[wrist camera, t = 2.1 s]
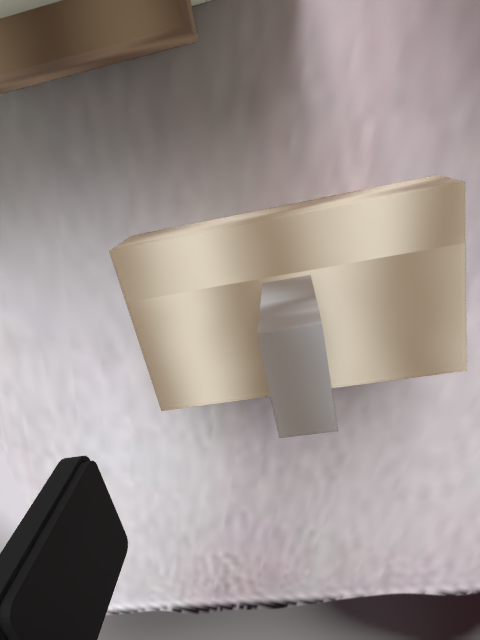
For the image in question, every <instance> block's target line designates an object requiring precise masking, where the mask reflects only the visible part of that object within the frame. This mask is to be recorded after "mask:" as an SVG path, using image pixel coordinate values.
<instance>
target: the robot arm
mask: <svg viewBox="0 0 480 640" xmlns="http://www.w3.org/2000/svg"><path fill="white" fill-rule="evenodd" d="M127 548H128V540H127V536H126V533H125V531H124V529H123V526H122V524H121V521H120V519H119V517H118V514H117V512H116V509H115V507H114V505H113V502H112V500H111V497H110V495H109V493H108V490H107V488H106V485H105V483H104V481H103V478H102V476H101V473H100V471H99V469H98V466H97V464H96V462H94V461H90V459H89V458H88V457H87V456H79V457H71V458H64V459H62V460H61V461H60V462H59V463H58V465H57V466H56V468H55V470H54V471H53V473H52V474H51V476H50V477H49V479H48V480H47V482H46V484H45V485H44V487H43V488H42V490H41V491H40V493H39V494H38V496H37V498H36V499H35V501H34V502H33V504H32V505H31V507H30V508H29V510H28V512H27V513H26V515H25V516H24V518H23V519H22V521H21V522H20V524H19V526H18V527H17V529H16V530H15V532H14V533H13V535H12V537H11V538H10V540H9V541H8V543H7V544H6V546H5V547H4V549H3V551H2V552H1V554H0V640H97V638H98V636H99V633H100V630H101V627H102V624H103V621H104V618H105V615H106V612H107V609H108V606H109V603H110V600H111V597H112V594H113V592H114V589H115V586H116V583H117V580H118V577H119V574H120V571H121V568H122V565H123V562H124V559H125V556H126V553H127Z"/></svg>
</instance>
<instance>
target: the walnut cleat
mask: <svg viewBox="0 0 480 640" xmlns="http://www.w3.org/2000/svg"><path fill="white" fill-rule="evenodd" d="M197 41H199V39H198V34H197V29H196V24H195V20H194V15H193V10H192V5H191V0H61V1H58V2H55V3H51V4H48V5H45V6H41V7H38V8H34V9H31V10H28V11H24V12H21V13H17V14H14V15H11V16H7V17H4V18H1V19H0V94H1V93H5V92H9V91H13V90H16V89H20V88H24V87H28V86H31V85H35V84H39V83H43V82H47V81H50V80H54V79H58V78H62V77H65V76H69V75H73V74H77V73H80V72H84V71H88V70H92V69H95V68H99V67H103V66H107V65H110V64H114V63H118V62H122V61H126V60H129V59H133V58H137V57H141V56H144V55H148V54H152V53H156V52H159V51H163V50H167V49H171V48H174V47H178V46H182V45H186V44H189V43H193V42H197Z"/></svg>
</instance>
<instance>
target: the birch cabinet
mask: <svg viewBox="0 0 480 640" xmlns="http://www.w3.org/2000/svg"><path fill="white" fill-rule="evenodd" d="M109 252H110V255H111V258H112V261H113V264H114V267H115V270H116V273H117V277H118V280H119V283H120V286H121V289H122V292H123V295H124V298H125V301H126V304H127V307H128V310H129V313H130V316H131V319H132V322H133V325H134V328H135V331H136V335H137V338H138V341H139V344H140V347H141V350H142V353H143V356H144V359H145V362H146V365H147V368H148V371H149V374H150V377H151V380H152V383H153V386H154V389H155V393H156V396H157V399H158V402H159V405H160V408H161V411H165V410H172V409H180V408H187V407H195V406H202V405H210V404H218V403H225V402H233V401H240V400H248V399H255V398H263V397H270V396H271V401H272V406H273V410H274V415H275V420H276V425H277V429H278V434H279V438H283V437H292V436H300V435H309V434H317V433H326V432H334V431H338V427H337V420H336V414H335V407H334V400H333V393H332V388H338V387H346V386H353V385H361V384H369V383H376V382H384V381H391V380H399V379H406V378H414V377H421V376H429V375H437V374H444V373H452V372H459V371H467V334H466V246H465V182H463V181H459V180H455V179H451V178H447V177H443V176H439V175H434V176H429V177H424V178H419V179H414V180H409V181H404V182H399V183H394V184H389V185H384V186H379V187H374V188H369V189H364V190H359V191H354V192H349V193H344V194H339V195H334V196H329V197H324V198H319V199H314V200H309V201H304V202H299V203H294V204H289V205H284V206H279V207H274V208H269V209H264V210H259V211H254V212H249V213H244V214H239V215H234V216H229V217H224V218H219V219H214V220H209V221H204V222H199V223H194V224H189V225H184V226H179V227H174V228H169V229H164V230H159V231H154V232H149V233H144V234H139V235H134V236H131V237H129V238H128V239H126V240H125V241H124V242H122V243H121V244H119V245H118V246H116V247H115V248H113V249H112V250H111V251H109Z"/></svg>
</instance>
